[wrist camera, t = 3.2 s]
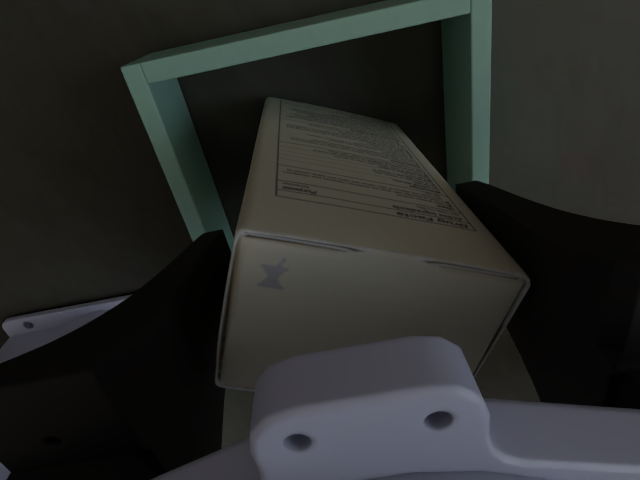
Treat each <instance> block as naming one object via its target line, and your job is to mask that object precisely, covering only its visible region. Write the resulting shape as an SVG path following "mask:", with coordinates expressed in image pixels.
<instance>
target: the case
mask: <svg viewBox="0 0 640 480" xmlns="http://www.w3.org/2000/svg"><path fill="white" fill-rule="evenodd" d="M438 20H441V37H442V62H443V87H444V113H445V138H446V163H447V183H448V184H449V185H450V187H451V188H452V189H453V190H454V191H455V192H456V185H455V184H459V183H465V182H470V181H475V180H476V181H480V182H483V183H486V184H489V141H490V81H491V21H492V0H385V1H380V2H376V3H371V4H367V5H362V6H358V7H354V8H349V9H345V10H340V11H336V12H331V13H327V14H322V15H318V16H313V17H309V18H305V19H300V20H296V21H291V22H287V23H282V24H278V25H273V26H269V27H265V28H260V29H256V30H251V31H247V32H242V33H238V34H233V35H229V36H224V37H220V38H216V39H211V40H207V41H202V42H198V43H193V44H189V45H184V46H180V47H176V48H171V49H167V50H162V51H158V52H153V53H150V54H148V55H146V56H144V57H142V58H139V59H137V60H135V61H133V62H131V63H129V64H127V65H124V66H122V67H121V71H122V74H123V76H124V78H125V81H126V83H127V85H128V88H129V90H130V93H131V95H132V97H133V100H134V102H135V105H136V107H137V109H138V112H139V114H140V117H141V119H142V121H143V124H144V126H145V129H146V131H147V133H148V136H149V138H150V140H151V143H152V145H153V148H154V150H155V152H156V155H157V157H158V160H159V162H160V164H161V167H162V169H163V172H164V174H165V176H166V179H167V181H168V184H169V186H170V188H171V191H172V193H173V196H174V198H175V200H176V203H177V205H178V207H179V210H180V212H181V215H182V217H183V219H184V222H185V224H186V227H187V229H188V231H189V234H190V236H191V239H192V241H195V240H196V239H197V238H198V237H199V236H200V235H202V234H203V233H206V232H211V231H216V230H221V229H223V231H224V234H225V237H226V239H227V242H228V245H229V248H230V250H231V253H232V247H233V242H234V237H233V234H232V232H231V229H230V226H229V223H228V220H227V218H226V215H225V212H224V209H223V206H222V203H221V201H220V198H219V195H218V192H217V189H216V187H215V184H214V181H213V178H212V175H211V173H210V170H209V167H208V164H207V161H206V159H205V156H204V153H203V150H202V147H201V144H200V142H199V139H198V136H197V133H196V130H195V128H194V125H193V122H192V119H191V116H190V114H189V111H188V108H187V105H186V102H185V99H184V97H183V94H182V91H181V88H180V85H179V83H178V80H177V78H179V77H183V76H188V75H192V74H197V73H201V72H206V71H211V70H215V69H220V68H224V67H229V66H233V65H238V64H242V63H247V62H251V61H256V60H261V59H265V58H270V57H274V56H279V55H283V54H288V53H292V52H297V51H301V50H306V49H311V48H315V47H320V46H324V45H329V44H333V43H338V42H342V41H347V40H352V39H356V38H361V37H365V36H370V35H374V34H379V33H383V32H388V31H392V30H397V29H402V28H406V27H411V26H415V25H420V24H424V23H429V22H433V21H438Z"/></svg>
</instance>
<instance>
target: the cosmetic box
mask: <svg viewBox="0 0 640 480" xmlns="http://www.w3.org/2000/svg"><path fill="white" fill-rule="evenodd" d="M529 288H530V278H529V277H528V275H527V274H526V273H525V272H524V270H523V269H522V268H521V267H520V266H519V265H518V264H517V262H516V261H515V260H514V259H513V258H512V257H511V256H510V255H509V253H508V252H507V251H506V250H505V249H504V248H503V247H502V245H501V244H500V243H499V242H498V241H497V240H496V239H495V237H494V236H493V235H492V234H491V233H490V232H489V231H488V229H487V228H486V227H485V226H484V225H483V224H482V223H481V221H480V220H479V219H478V218H477V217H476V216H475V214H474V213H473V212H472V211H471V210H470V209H469V208H468V206H467V205H466V204H465V203H464V202H463V200H462V199H461V198H460V197H459V196H458V195H457V193H456V192H455V191H454V190H453V189H452V188H451V187H450V185H449V184H448V183H447V182H446V181H445V180H444V178H443V177H442V176H441V175H440V174H439V173H438V171H437V170H436V169H435V168H434V167H433V166H432V165H431V163H430V162H429V161H428V160H427V159H426V158H425V156H424V155H423V154H422V153H421V152H420V151H419V150H418V148H417V147H416V146H415V145H414V144H413V143H412V141H411V140H410V139H409V138H408V137H407V136H406V134H405V133H404V132H403V131H402V130H401V129H400V127H399V126H398V125H397V124H394V123H391V122H387V121H383V120H379V119H376V118H371V117H367V116H363V115H359V114H355V113H350V112H346V111H341V110H336V109H331V108H327V107H322V106H317V105H312V104H307V103H302V102H297V101H291V100H285V99H279V98H274V97H267V98H266V100H265V104H264V108H263V112H262V116H261V121H260V125H259V130H258V134H257V138H256V143H255V147H254V152H253V157H252V162H251V166H250V171H249V175H248V180H247V184H246V188H245V193H244V197H243V202H242V206H241V210H240V214H239V218H238V223H237V227H236V231H235V237H234V242H233V247H232V253H231V258H230V264H229V270H228V275H227V281H226V287H225V294H224V300H223V306H222V313H221V320H220V327H219V334H218V343H217V352H216V366H215V375H214V381H215V384H216V385H217V386H219V387H222V388H229V389H238V390H244V391H252V392H254V390H255V381H256V380H257V379H258V378H259V377H260V376H261V374H262V373H263V372H264V371H265V370H266V369H267V367H268V366H269V365H271V364H274V363H277V362H279V361H282V360H284V359H287V358H290V357H292V356H296V355H302V354H307V353H313V352H319V351H325V350H331V349H337V348H342V347H348V346H354V345H360V344H366V343H372V342H378V341H383V340H389V339H395V338H401V337H407V336H440V337H442V338H444V339H446V340H448V341H450V342H451V343H453V344H455V345H457V346H459V347H460V348H461V350H462V352H463V354H464V357H465V359H466V361H467V363H468V366H469V368H470V370H471V372H472V375H473V377H474V379H475V377H476V375H477V374H478V372H479V371H480V369H481V367H482V366H483V364H484V363H485V361H486V360H487V358H488V356H489V355H490V353H491V351H492V349H493V348H494V346H495V344H496V342H497V341H498V339H499V338H500V336H501V335H502V333H503V331H504V329H505V328H506V326H507V325H508V323H509V322H510V320H511V318H512V316H513V315H514V313H515V311H516V309H517V308H518V306H519V304H520V303H521V301H522V299H523V298H524V296H525V294H526V293H527V291H528V289H529Z"/></svg>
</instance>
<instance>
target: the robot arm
mask: <svg viewBox="0 0 640 480" xmlns="http://www.w3.org/2000/svg"><path fill="white" fill-rule="evenodd" d="M455 185H456V193H457V195H458V196H459V197H460V198H461V199H462V200H463V202H464V203H465V204H466V205H467V206H468V208H469V209H470V210H471V211H472V212H473V213H474V214H475V216H476V217H477V218H478V219H479V220H480V221H481V223H482V224H483V225H484V226H485V227H486V228H487V229H488V231H489V232H490V233H491V234H492V235H493V236H494V237H495V239H496V240H497V241H498V242H499V243H500V244H501V245H502V247H503V248H504V249H505V250H506V251H507V252H508V253H509V255H510V256H511V257H512V258H513V259H514V260H515V261H516V262H517V264H518V265H519V266H520V267H521V268H522V269H523V270H524V272H525V273H526V274H527V275H528V277H529V278H530V288H529V289H528V291H527V293H526V294H525V296H524V298H523V299H522V301H521V303H520V304H519V306H518V308H517V309H516V311H515V313H514V315H513V316H512V318H511V320H510V322H509V323H508V325H507V326H506V327H507V329H508V331H509V333H510V335H511V337H512V339H513V341H514V343H515V345H516V347H517V349H518V351H519V353H520V355H521V358H522V360H523V362H524V364H525V366H526V369H527V371H528V373H529V375H530V377H531V380H532V382H533V384H534V386H535V389H536V391H537V393H538V396H539V398H540V400H541V402H532V401H518V400H505V399H491V398H483V397H482V395H481V393H480V391H479V388H478V386H477V384H476V381H475V379H474V377H473V375H472V372H471V370H470V368H469V366H468V363H467V361H466V359H465V357H464V354H463V352H462V350H461V348H460V347H459V346H457V345H455V344H453V343H451V342H450V341H448V340H446V339H444V338H442V337H440V336H407V337H401V338H395V339H389V340H383V341H378V342H372V343H366V344H360V345H354V346H348V347H342V348H337V349H331V350H325V351H319V352H313V353H307V354H302V355H296V356H292V357H290V358H287V359H284V360H282V361H279V362H277V363H274V364H271V365H269V366H268V367H267V369H266V370H265V371H264V372H263V373H262V374H261V376H260V377H259V378H258V379H257V380H256V381H255V390H254V399H253V408H252V417H251V426H250V437H249V438H246V439H244V440H242V441H239V442H237V443H235V444H232V445H230V446H227V447H225V448H223V449H221V444H222V425H223V409H224V396H225V388H222V387H219V386H217V385H216V384H215V381H214V375H215V366H216V352H217V343H218V334H219V327H220V320H221V313H222V306H223V300H224V294H225V287H226V281H227V275H228V270H229V264H230V258H231V250H230V248H229V245H228V242H227V239H226V237H225V234H224V231H223V229H221V230H216V231H211V232H206V233H203V234H202V235H200V236H199V237H198V238H197V239H196V240H195V241H193V242H192V243H191V244H190V245H189V246H188V247H187V248H186V249H185V250H184V251H183V252H182V253H181V254H180V255H178V256H177V257H176V258H175V259H174V260H173V261H172V262H171V263H170V264H169V265H168V266H167V267H165V268H164V269H163V270H162V271H161V272H160V273H158V274H157V275H156V276H155V277H154V278H153V279H151V280H150V281H149V282H148V283H147V284H145V285H144V286H143V287H142V288H140V289H139V290H138V291H136V292H135V293H134V294H132V295H126V296H121V297H116V298H110V299H105V300H100V301H94V302H89V303H84V304H79V305H73V306H68V307H63V308H57V309H52V310H47V311H41V312H36V313H31V314H25V315H20V316H15V317H10V318H7V319H6V320H5V321H4V323H3V324H2V327H3V329H4V331H5V332H6V333H7V334H8V336H9V337H10V338H9V339H8V340H7V341H6V342H5V344H4V345H3V346H2V347H1V348H0V480H640V225H632V224H625V223H619V222H612V221H606V220H601V219H595V218H591V217H586V216H582V215H578V214H573V213H569V212H565V211H562V210H558V209H555V208H552V207H549V206H546V205H542V204H539V203H536V202H534V201H531V200H528V199H525V198H522V197H520V196H517V195H515V194H512V193H509V192H507V191H504V190H502V189H499V188H497V187H494V186H492V185H489V184H486V183H483V182H480V181H476V180H475V181H470V182H465V183H459V184H455ZM29 322H30V323H29Z"/></svg>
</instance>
